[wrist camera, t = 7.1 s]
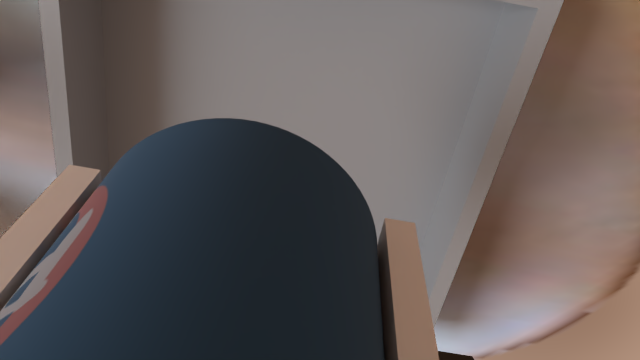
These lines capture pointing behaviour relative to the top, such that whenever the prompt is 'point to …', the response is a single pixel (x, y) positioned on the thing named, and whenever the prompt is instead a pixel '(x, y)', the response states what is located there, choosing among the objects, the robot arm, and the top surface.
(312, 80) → the tote
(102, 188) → the soda can
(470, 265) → the top surface
